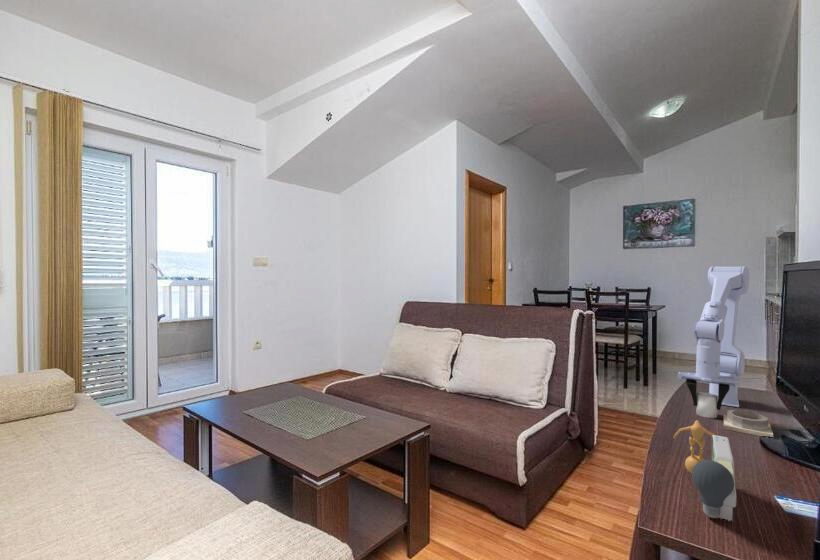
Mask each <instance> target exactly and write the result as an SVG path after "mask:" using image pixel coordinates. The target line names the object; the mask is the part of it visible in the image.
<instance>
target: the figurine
mask: <svg viewBox="0 0 820 560" xmlns="http://www.w3.org/2000/svg"><path fill="white" fill-rule="evenodd" d="M686 431H690V432H691V435H692V436H689V438H688V439H689V446H690V448H689V449H690V452H691V455H689V456H688V457H687V458H686V459H685V461H684V464H685V468H686V470H687V471H688V472H689V473H691V474H690V475H692V469H693V467H694V466H695V465H696V464H697V463H698V462H700V461H703V460H705V459H704V458H703V453H704V452H705V451H704V448H705V444H706V440H705V439H703V436H704V434H707V435H708V436H710V437H712V435H716V434H714V433H713V432H711V431H709V430H707V429H706V428H704V427H703V426H702V424H701V422H700V421H699V420H698V419H696V420H695V421H694V423H693V424H692V425H689V426H686V427H682V428H679V429H678V430H677V431H676V432H675V434H674V435H673V440H674V439H676V437H677V436H678V435H679V434H681V432H686ZM696 444H698V446H699V447H700V449H699V455H696V454H695V448H694V446H695V445H696Z"/></svg>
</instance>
